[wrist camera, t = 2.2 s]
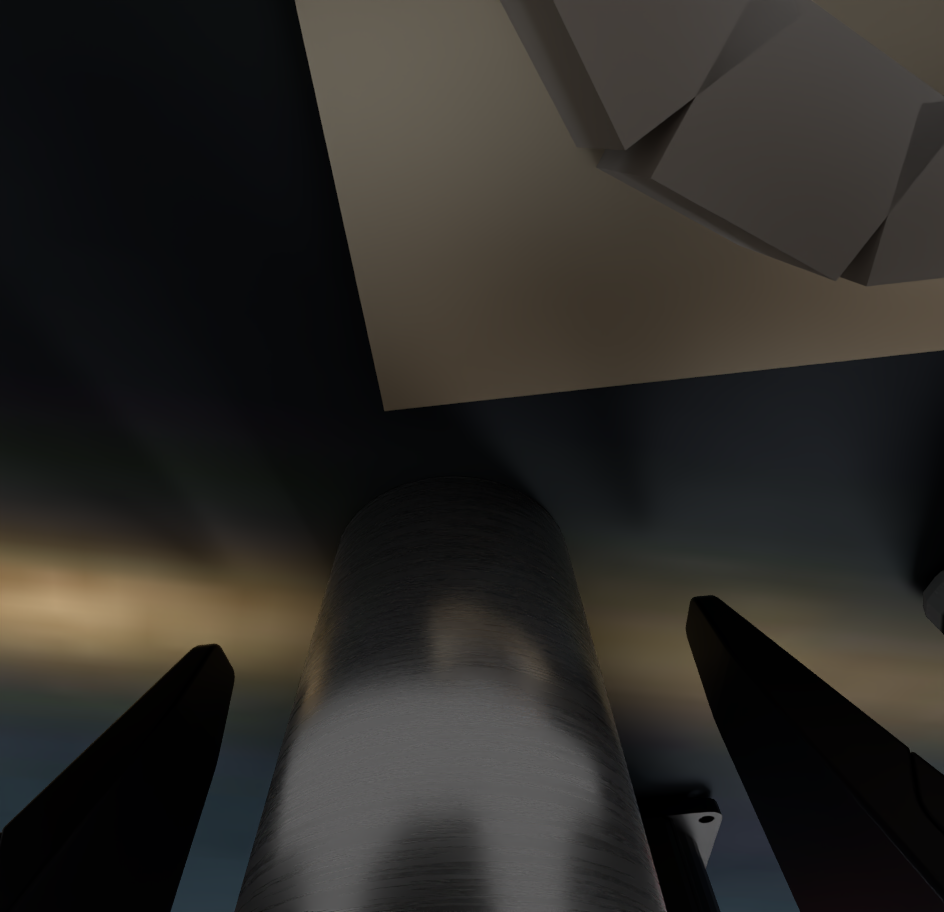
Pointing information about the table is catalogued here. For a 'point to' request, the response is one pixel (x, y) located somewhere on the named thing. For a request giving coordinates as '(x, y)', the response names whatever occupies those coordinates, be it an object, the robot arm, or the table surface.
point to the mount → (632, 186)
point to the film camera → (935, 601)
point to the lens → (451, 727)
